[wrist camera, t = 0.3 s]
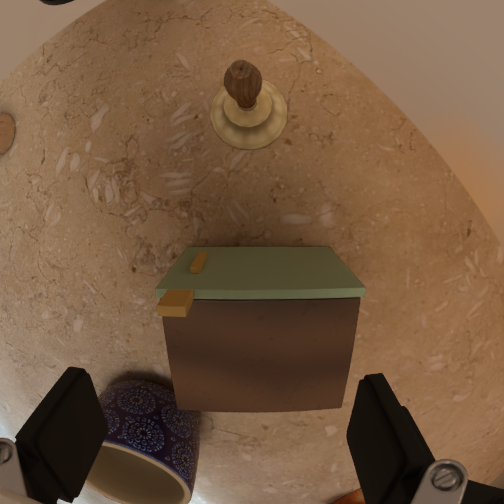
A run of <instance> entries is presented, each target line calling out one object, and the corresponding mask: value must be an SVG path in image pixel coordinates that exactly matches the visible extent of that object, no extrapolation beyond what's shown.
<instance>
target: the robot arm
mask: <svg viewBox="0 0 504 504" xmlns="http://www.w3.org/2000/svg"><path fill="white" fill-rule="evenodd" d="M107 433H108V423H107V421H106V418H105V416H104V413H103V411H102V408H101V405H100V403H99V400H98V397H97V394H96V391H95V389H94V386H93V383H92V380H91V377H90V375H89V374H88V373H87V372H86V370H85V369H83V368H77V367H69V368H67V370H66V371H65V372H64V373H63V375H62V376H61V377H60V378H59V380H58V381H57V382H56V383H55V385H54V386H53V387H52V388H51V390H50V391H49V392H48V394H47V395H46V396H45V397H44V399H43V400H42V401H41V403H40V404H39V405H38V407H37V408H36V409H35V411H34V412H33V413H32V414H31V416H30V417H29V418H28V420H27V421H26V423H25V424H24V425H23V427H22V428H21V429H20V431H19V432H18V433H17V435H16V436H15V438H16V442H15V443H14V442H13V441H11V440H10V439H7V438H0V504H57V500H58V498H59V499H61V500H63V501H66V502H69V503H72V502H73V500H74V498H77V497H78V496H79V494H80V492H81V490H82V487H83V485H84V483H85V481H86V479H87V476H88V474H89V472H90V470H91V468H92V465H93V463H94V461H95V459H96V457H97V455H98V453H99V450H100V448H101V446H102V444H103V442H104V440H105V438H106V436H107ZM346 436H347V443H348V446H349V449H350V452H351V456H352V459H353V462H354V466H355V469H356V473H357V476H358V479H359V483H360V486H361V490H362V493H363V497H364V500H365V504H504V489H500V488H496V487H492V486H488V485H485V484H481V483H478V482H474V481H471V480H468V473H467V470H466V469H465V467H464V466H463V465H462V464H461V463H459V462H457V461H455V460H451V459H441V460H438V461H435V459H434V457H433V455H432V453H431V451H430V449H429V447H428V445H427V444H426V442H425V440H424V438H423V436H422V434H421V432H420V431H419V429H418V427H417V425H416V423H415V422H414V420H413V418H412V416H411V414H410V413H409V411H408V409H407V408H406V407H405V406H401V405H400V403H399V402H398V400H397V398H396V396H395V394H394V393H393V391H392V389H391V387H390V385H389V384H388V382H387V380H386V378H385V377H384V375H383V374H382V373H378V374H370V375H365V377H364V379H362V380H360V381H359V384H358V389H357V393H356V397H355V402H354V406H353V410H352V414H351V418H350V422H349V425H348V429H347V435H346Z"/></svg>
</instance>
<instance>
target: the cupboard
mask: <svg viewBox="0 0 504 504" xmlns="http://www.w3.org/2000/svg"><path fill="white" fill-rule="evenodd" d="M161 299H162V298H161ZM161 299H160V300H161ZM359 305H360V297H346V298H313V299H194V300H193V302H192V304H191V307H190V309H189V311H188V314H187V316H186V317H171V316H162V318H163V325H164V332H165V339H166V346H167V352H168V359H169V365H170V371H171V377H172V382H173V388H174V393H175V398H176V404H177V409H179V410H192V411H210V412H291V411H309V410H322V409H334V408H341V407H342V402H343V398H344V393H345V388H346V383H347V378H348V373H349V368H350V363H351V357H352V351H353V345H354V339H355V333H356V327H357V320H358V313H359Z"/></svg>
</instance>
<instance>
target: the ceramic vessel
mask: <svg viewBox="0 0 504 504" xmlns="http://www.w3.org/2000/svg"><path fill="white" fill-rule="evenodd" d="M333 504H365V500H364V497H363V493H362V490H361V488H360V489H357V490H356V491H354V492H352V493H350V494H348V495H346V496H344V497H342V498H341V499H339V500H337V501H336V502H334V503H333Z"/></svg>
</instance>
